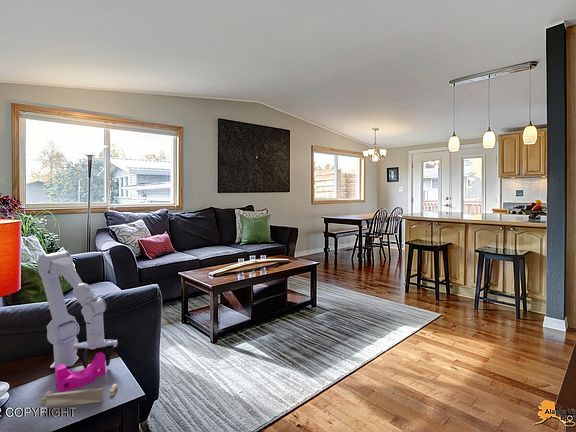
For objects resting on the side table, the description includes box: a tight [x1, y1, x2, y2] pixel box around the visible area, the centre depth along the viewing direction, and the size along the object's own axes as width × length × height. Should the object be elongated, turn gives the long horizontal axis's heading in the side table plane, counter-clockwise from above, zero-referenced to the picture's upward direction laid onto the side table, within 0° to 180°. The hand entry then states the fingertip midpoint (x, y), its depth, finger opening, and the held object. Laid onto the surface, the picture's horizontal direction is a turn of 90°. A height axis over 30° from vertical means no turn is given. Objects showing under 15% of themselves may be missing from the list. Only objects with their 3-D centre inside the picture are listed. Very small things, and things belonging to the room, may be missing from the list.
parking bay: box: [40, 383, 118, 409], centre depth 114 cm, size 7×21×4 cm, turn 102°
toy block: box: [54, 351, 107, 393], centre depth 123 cm, size 15×6×8 cm, turn 135°
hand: (97, 365), depth 131 cm, fingers open, 7 cm apart
